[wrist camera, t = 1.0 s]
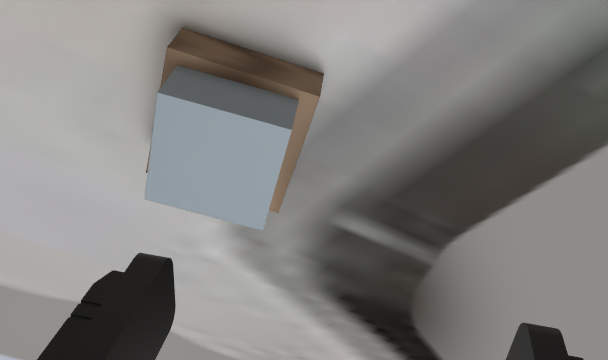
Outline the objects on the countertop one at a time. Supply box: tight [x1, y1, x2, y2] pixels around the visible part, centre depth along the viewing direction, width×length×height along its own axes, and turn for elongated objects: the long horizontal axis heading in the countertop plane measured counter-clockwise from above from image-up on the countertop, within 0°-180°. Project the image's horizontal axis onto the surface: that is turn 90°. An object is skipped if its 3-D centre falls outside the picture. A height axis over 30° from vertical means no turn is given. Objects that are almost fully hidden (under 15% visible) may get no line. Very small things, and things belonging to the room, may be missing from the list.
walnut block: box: [146, 28, 324, 213], centre depth 40 cm, size 10×10×4 cm
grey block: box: [145, 65, 299, 231], centre depth 36 cm, size 8×8×4 cm
